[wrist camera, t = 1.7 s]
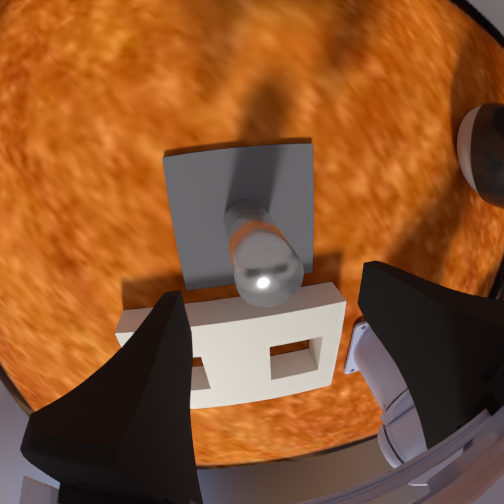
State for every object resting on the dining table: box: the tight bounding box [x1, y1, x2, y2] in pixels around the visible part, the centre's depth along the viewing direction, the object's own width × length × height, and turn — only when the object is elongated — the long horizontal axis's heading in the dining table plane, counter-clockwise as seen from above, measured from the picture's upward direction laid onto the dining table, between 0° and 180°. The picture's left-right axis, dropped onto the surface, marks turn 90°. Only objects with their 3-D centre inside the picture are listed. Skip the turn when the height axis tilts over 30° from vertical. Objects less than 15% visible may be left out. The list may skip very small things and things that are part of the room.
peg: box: [224, 199, 304, 307], centre depth 15 cm, size 3×3×8 cm
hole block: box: [115, 282, 346, 409], centre depth 23 cm, size 18×11×3 cm, turn 94°
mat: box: [163, 143, 314, 290], centre depth 19 cm, size 10×10×1 cm
